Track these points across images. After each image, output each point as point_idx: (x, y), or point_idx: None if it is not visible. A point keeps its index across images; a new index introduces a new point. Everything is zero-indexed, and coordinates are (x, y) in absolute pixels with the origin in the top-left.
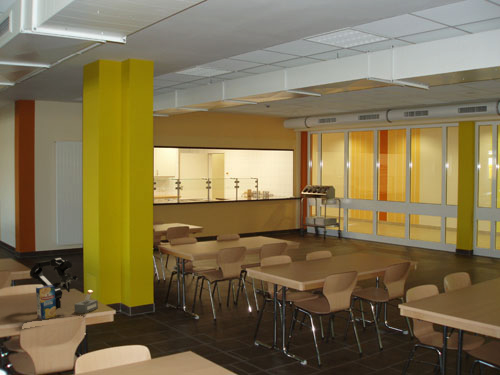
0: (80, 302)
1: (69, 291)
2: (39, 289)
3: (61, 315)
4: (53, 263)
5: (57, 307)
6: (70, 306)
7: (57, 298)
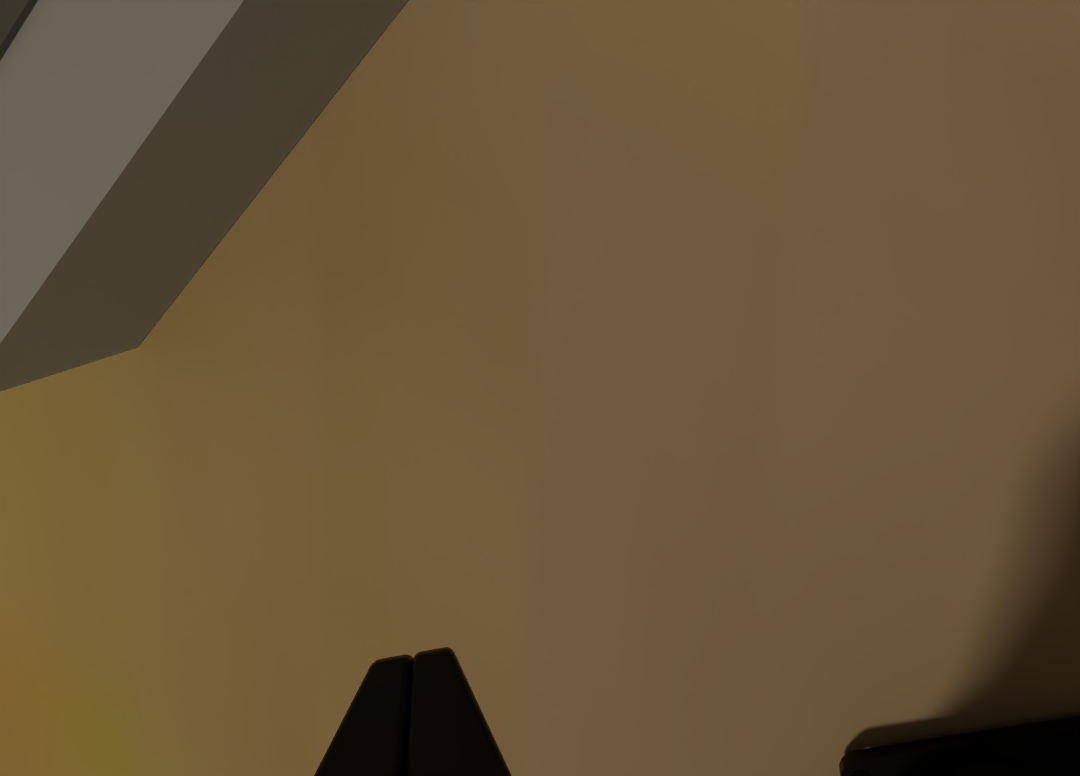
0: (138, 29)
1: (381, 666)
2: None
3: None
4: None
5: (956, 741)
6: (570, 698)
7: None
